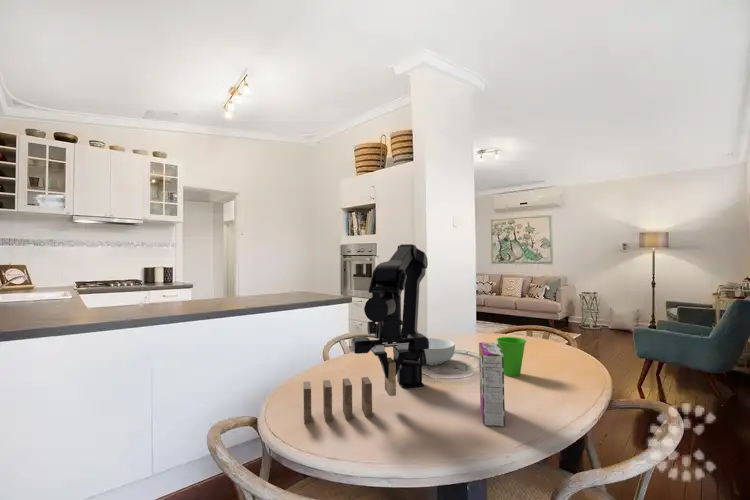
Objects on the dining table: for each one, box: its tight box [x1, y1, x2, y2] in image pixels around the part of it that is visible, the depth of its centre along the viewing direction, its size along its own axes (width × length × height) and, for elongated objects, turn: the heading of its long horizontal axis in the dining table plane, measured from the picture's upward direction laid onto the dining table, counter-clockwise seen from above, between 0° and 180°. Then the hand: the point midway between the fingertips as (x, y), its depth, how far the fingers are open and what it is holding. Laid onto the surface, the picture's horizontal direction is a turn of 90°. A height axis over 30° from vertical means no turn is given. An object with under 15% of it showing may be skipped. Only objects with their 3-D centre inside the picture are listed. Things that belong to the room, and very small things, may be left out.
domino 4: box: [361, 376, 373, 418], centre depth 94 cm, size 2×5×8 cm, turn 12°
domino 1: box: [303, 381, 312, 425], centre depth 91 cm, size 2×5×8 cm, turn 12°
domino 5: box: [384, 356, 397, 397], centre depth 96 cm, size 2×5×8 cm, turn 12°
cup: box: [495, 336, 527, 378], centre depth 122 cm, size 9×9×11 cm
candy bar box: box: [478, 341, 506, 428], centre depth 91 cm, size 11×5×16 cm, turn 168°
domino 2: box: [322, 379, 333, 422], centre depth 92 cm, size 2×5×8 cm, turn 12°
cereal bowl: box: [424, 337, 456, 365], centre depth 137 cm, size 17×17×7 cm
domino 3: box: [342, 378, 353, 420], centre depth 93 cm, size 2×5×8 cm, turn 12°
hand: (390, 377), depth 95 cm, fingers closed on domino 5, 2 cm apart
